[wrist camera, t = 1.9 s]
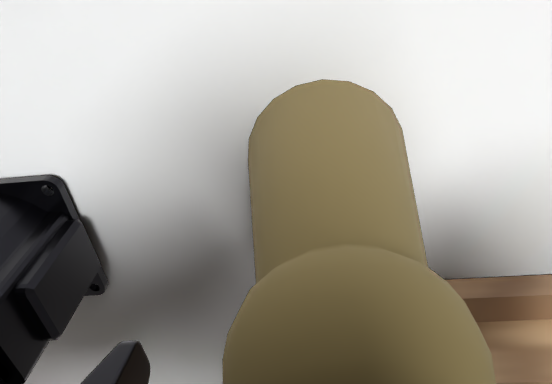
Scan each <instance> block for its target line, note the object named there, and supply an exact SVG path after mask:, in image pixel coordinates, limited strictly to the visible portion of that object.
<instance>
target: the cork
mask: <svg viewBox="0 0 552 384" xmlns="http://www.w3.org/2000/svg"><path fill="white" fill-rule="evenodd" d="M248 167H249V182H250V198H251V213H252V229H253V245H254V260H255V276H256V284H255V285H254V286H253V287H252V288H251V289H250V290H249V292H248V294H247V296H246V298H245V300H244V302H243V304H242V306H241V308H240V310H239V312H238V314H237V316H236V318H235V320H234V322H233V324H232V326H231V328H230V330H229V332H228V334H227V339H226V344H225V349H224V355H223V384H496V380H495V373H494V367H493V360H492V354H491V352H490V350H489V348H488V345H487V343H486V341H485V339H484V337H483V335H482V333H481V331H480V329H479V327H478V325H477V323H476V321H475V319H474V318H473V316H472V314H471V312H470V310H469V309H468V307H467V305H466V303H465V301H464V300H463V299H462V298H461V297H460V296H459V295H458V293H457V292H456V291H455V290H454V289H453V288H452V287H451V285H450V284H449V283H448V282H447V281H445V280H444V279H443V278H442V277H440V276H439V275H438V274H436V273H435V272H434V271H432V270H431V269H430V268H428V264H427V259H426V254H425V248H424V243H423V238H422V232H421V227H420V222H419V217H418V211H417V206H416V201H415V195H414V190H413V185H412V179H411V174H410V169H409V163H408V158H407V153H406V147H405V142H404V137H403V131H402V128H401V126H400V124H399V122H398V120H397V118H396V116H395V114H394V112H393V110H392V108H391V107H390V106H389V105H388V104H386V103H385V102H384V101H383V100H382V99H381V98H380V97H379V96H378V95H377V94H375V93H374V92H373V91H371V90H368V89H366V88H364V87H361V86H359V85H356V84H354V83H352V82H349V81H336V80H323V79H322V80H318V81H314V82H310V83H305V84H301V85H297V86H295V87H293V88H291V89H290V90H288V91H286V92H285V93H283V94H281V95H280V96H278V97H276V98H275V99H273V100H272V101H271V103H270V104H269V105H268V106H267V107H266V108H265V109H264V111H263V112H262V113H261V114H260V115H259V116H258V118H257V120H256V122H255V125H254V127H253V130H252V132H251V135H250V137H249V149H248Z"/></svg>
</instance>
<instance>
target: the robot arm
mask: <svg viewBox="0 0 552 384" xmlns="http://www.w3.org/2000/svg"><path fill="white" fill-rule="evenodd" d="M47 186H50V187H51V188H52V189H53V190H54V191H53V190H50V189H49V188H48V187H47ZM107 286H108V280H107V278H106V276H105V274H104V272H103V269H102V267H101V263H100V261H99V259H98V257H97V254H96V252H95V250H94V248H93V246H92V243H91V241H90V239H89V237H88V235H87V232H86V230H85V228H84V226H83V224H82V223H81V221H80V219H79V217H78V214H77V212H76V210H75V208H74V206H73V203H72V201H71V199H70V197H69V195H68V192H67V190H66V188H65V186H64V184H63V182H62V181H61V180H60V179H58V178H57V177H55V176H51V175H43V176H31V177H19V178H6V179H0V384H24V383H25V381H26V380H27V378H28V376H29V375H30V373H31V371H32V370H33V368H34V366H35V365H36V363H37V361H38V359H39V358H40V356H41V354H42V353H43V351H44V349H45V348H46V346H47V344H48V343H49V341H50V340H57V339H58V338H59V337H60V336H61V334H62V333H63V331H64V330H65V328H66V326H67V324H68V323H69V321H70V319H71V317H72V316H73V314H74V312H75V310H76V309H77V307H78V305H79V303H80V302H81V300H82V298H83V296H88V295H100V294H103V293H104V292H105V290H106V288H107ZM149 376H150V363H149V360H148V358H147V356H146V354H145V351H144V349H143V347H142V345H141V343H140V342H139V341H123V342H120V343H119V344H118V345H117V346H116V347H115V348H114V349H113V350H112V351H111V352H110V353H109V354H108V355H107V356H106V357H105V358H104V359H103V360H102V361H101V363H100V364H99V365H98V366H97V367H96V368H95V369H94V370H93V371H92V372H91V373H90V374H89V375H88V376H87V377H86V378H85V380H84V381H83V382H82V383H81V384H148V382H149Z"/></svg>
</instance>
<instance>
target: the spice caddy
mask: <svg viewBox="0 0 552 384" xmlns="http://www.w3.org/2000/svg"><path fill="white" fill-rule="evenodd" d="M445 281H447V282H448V283H449V284H450V285H451V287H452V288H453V289H454V290H455V291H456V292H457V293H458V295H459V296H460V297H461V298H462V299H463V300H464V301H465V303H466V305H467V307H468V309H469V310H470V312H471V314H472V316H473V318H474V319H475V321H476V323H477V325H478V327H479V329H480V331H481V333H482V335H483V337H484V339H485V341H486V343H487V345H488V348H489V350H490V352H491V354H492V360H493V367H494V373H495V380H496V384H552V274H550V275H530V276H510V277H490V278H470V279H450V280H445Z"/></svg>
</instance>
